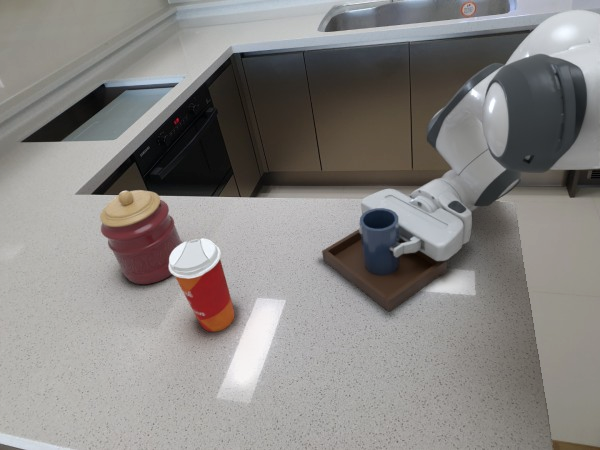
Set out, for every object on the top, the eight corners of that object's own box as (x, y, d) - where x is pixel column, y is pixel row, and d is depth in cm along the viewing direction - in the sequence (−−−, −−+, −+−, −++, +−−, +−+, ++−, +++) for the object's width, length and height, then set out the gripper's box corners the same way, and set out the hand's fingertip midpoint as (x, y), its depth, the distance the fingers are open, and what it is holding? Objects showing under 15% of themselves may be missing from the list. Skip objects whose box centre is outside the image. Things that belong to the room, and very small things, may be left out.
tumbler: (407, 263, 82) (406, 218, 76) (381, 280, 80) (377, 236, 74) (382, 247, 87) (379, 203, 81) (356, 263, 84) (352, 219, 78)
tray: (446, 271, 80) (446, 260, 78) (388, 311, 74) (388, 301, 73) (377, 228, 92) (376, 218, 91) (323, 260, 87) (321, 250, 86)
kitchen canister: (180, 236, 101) (152, 166, 91) (193, 269, 91) (163, 195, 81) (121, 258, 98) (86, 188, 88) (128, 295, 88) (88, 221, 78)
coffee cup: (196, 305, 83) (169, 241, 74) (241, 296, 83) (219, 231, 74) (192, 342, 76) (162, 276, 67) (241, 332, 76) (217, 265, 67)
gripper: (391, 174, 90) (337, 204, 85) (479, 216, 76) (420, 255, 71) (393, 200, 94) (340, 230, 89) (476, 245, 80) (420, 284, 74)
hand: (376, 242), depth 80 cm, fingers closed on tumbler, 6 cm apart
